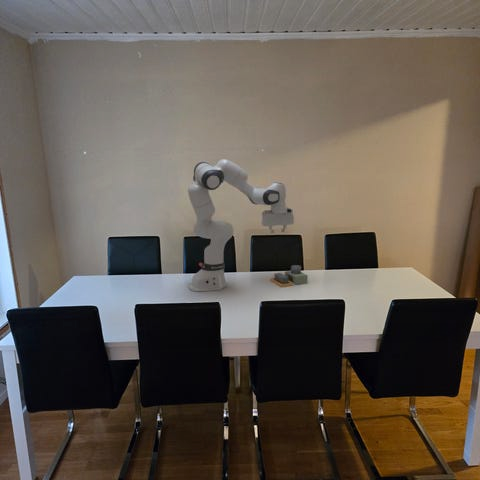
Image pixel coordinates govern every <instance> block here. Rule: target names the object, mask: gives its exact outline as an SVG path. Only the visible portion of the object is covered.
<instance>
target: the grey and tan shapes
mask: <svg viewBox="0 0 480 480" xmlns="http://www.w3.org/2000/svg"><path fill="white" fill-rule="evenodd" d="M284 275H285V276H287V277H288V283H287V284H281V283H279V282H277V281H275V280H274V277H270V278H269V281H270V282H271V283H273V284H275V285H276V286H278V287H280V288H286V287H292V286H293V287H294V285H295V286H298V285H305V284H308V276H309V275H308V274H306V273H303V272H302V265H297V264H294V265H291V266H290V270H286V271H284Z"/></svg>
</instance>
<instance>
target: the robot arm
mask: <svg viewBox="0 0 480 480" xmlns="http://www.w3.org/2000/svg"><path fill="white" fill-rule="evenodd" d="M192 177H193V179H192V180H193V181H194V182H193V183H192V184H190V185H189V186H188V188H187V193H188V197H189V201H190V204H191V206H192V209H193V211H194V213H195V216H196V221H195V223H194V225H193V231H194V234H195V235H196V236H198V237H200V238H202V239H203V238H204V239H208V240H209V239H210V243H209V245H207V246H206V247H205V248H204V253H203V254H204V255H203V259H204V262H203V263H202V262H199V263H198V265H199V266H200V267H201V269H200V270H198V271H197V272H196V273H195V274H194V275H193V276H192V278H191V282H190V283H188V289H189V290H190V291H193V292H209V291H210V292H211V291H212V292H213V291H221V290H222V289H224V288H225V287H226V286H228V285H227V282H226V277H225V261H224V251H225V246H226V244H227V242H228V241H229V240H230V239H232V237H233V234H234V227H233V225H232V224H231V223H229V222H226V221H225V220H217V219H213V216H214V215H215V212H216V208H215V205H214V203H213V200H212V197H211V195H210V192H209V191H214V190H216V189H218V188H219V187H220V186H221V185H222V183H224V182H226V183H227V184H229V185H231V186H232V187H233V188H236V189H237V190H239V191H240V192H242V194H244V195H245V196H247V198H248V200H249V201H250V202H251V204H253V205H262V206H270V209H269V210H267V209H266V210H264V211H262V213H261V219H262V220H261V225H262V226H263V227H268V229H269V230H270V234H275V230H274V229H273V227H275V226H283V228H281V232H280V233H285V232H286V228H287V225H289V226H290V225H293V224H294V222H295V217H294V214H293V211H294V209H292V208H289V207H287V206H286V196H287V195H286V192H287V191H286V185H285V184H284V183H282V182H272V183H271V184H270V185H269V186H268V187H266V188H262V187H261V188H260V187H254V186H252V185H251V184H250V183H248V177H249V176H248V173H247V172H246V171H245V169H243V168H242V167H241V166H239V165H238V164H237V163H235V162H233V161H231V160H229V159H225V158H222V159H220V160H219V161H217V163H216V164H215V165H214V166H213V165H211V164H210V163H209V162H205V161H201V162H198V163H197V164H196V165H195V166H194V169H193V176H192Z"/></svg>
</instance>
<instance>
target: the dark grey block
mask: <svg viewBox="0 0 480 480" xmlns="http://www.w3.org/2000/svg"><path fill="white" fill-rule="evenodd" d="M273 276H274V277H273V278H274V280H275V281H277V282H279V283H281V284H287V283H288V277H287V276H285V274H283V273H281V272H277V273H274V275H273Z"/></svg>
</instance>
